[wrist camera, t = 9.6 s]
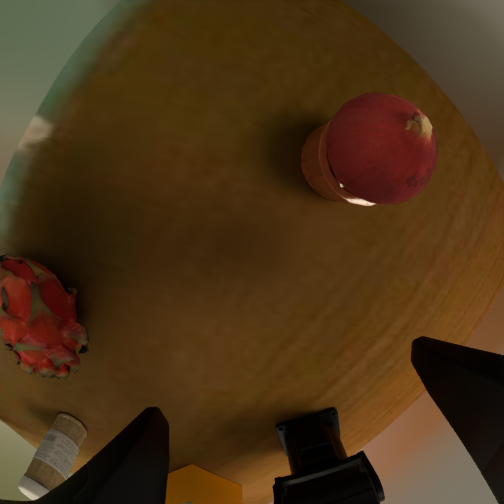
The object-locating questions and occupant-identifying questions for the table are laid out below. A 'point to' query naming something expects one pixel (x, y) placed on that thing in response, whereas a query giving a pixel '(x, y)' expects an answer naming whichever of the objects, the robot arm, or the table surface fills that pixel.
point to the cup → (324, 169)
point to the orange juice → (201, 488)
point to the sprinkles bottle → (53, 457)
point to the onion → (381, 148)
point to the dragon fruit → (39, 318)
